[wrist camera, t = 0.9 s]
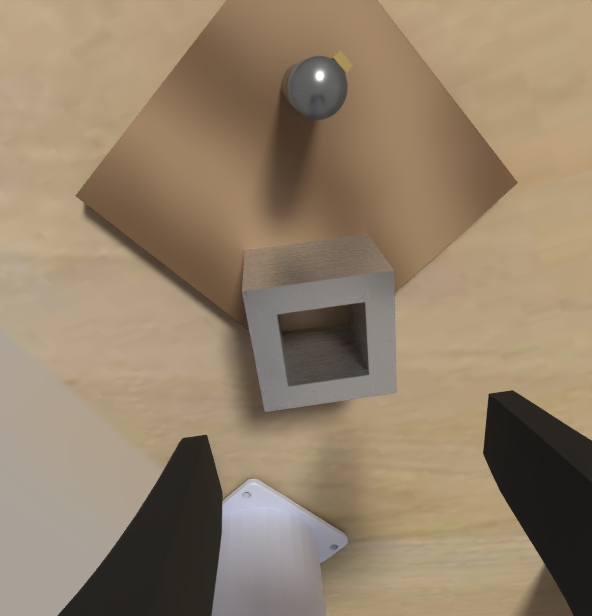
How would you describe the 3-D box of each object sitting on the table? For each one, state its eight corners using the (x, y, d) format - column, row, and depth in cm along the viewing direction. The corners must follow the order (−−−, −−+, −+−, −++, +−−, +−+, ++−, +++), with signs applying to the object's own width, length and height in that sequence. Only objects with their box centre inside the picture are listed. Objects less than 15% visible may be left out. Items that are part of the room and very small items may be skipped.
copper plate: (302, 361, 22) (304, 373, 21) (84, 189, 18) (75, 195, 17) (505, 178, 19) (517, 182, 18) (299, -87, 15) (302, -98, 14)
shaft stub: (303, 119, 16) (318, 132, 12) (272, 86, 16) (278, 89, 12) (338, 80, 16) (366, 81, 12) (307, 45, 15) (326, 33, 11)
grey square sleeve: (372, 338, 21) (396, 392, 17) (263, 354, 21) (264, 412, 17) (367, 233, 18) (394, 270, 15) (244, 250, 18) (241, 291, 15)
